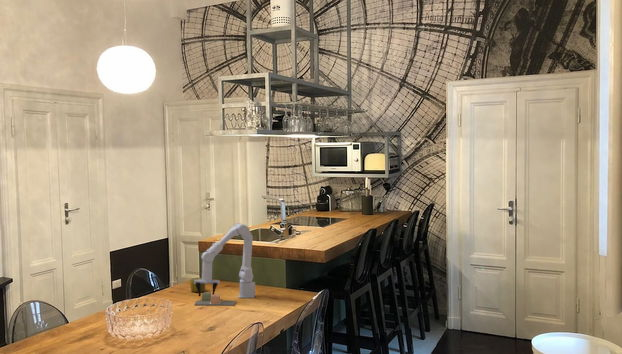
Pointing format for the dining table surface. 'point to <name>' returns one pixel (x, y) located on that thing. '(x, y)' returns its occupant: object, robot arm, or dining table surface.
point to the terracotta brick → (215, 298)
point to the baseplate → (221, 303)
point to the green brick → (206, 296)
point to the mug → (193, 286)
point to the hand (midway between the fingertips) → (206, 296)
